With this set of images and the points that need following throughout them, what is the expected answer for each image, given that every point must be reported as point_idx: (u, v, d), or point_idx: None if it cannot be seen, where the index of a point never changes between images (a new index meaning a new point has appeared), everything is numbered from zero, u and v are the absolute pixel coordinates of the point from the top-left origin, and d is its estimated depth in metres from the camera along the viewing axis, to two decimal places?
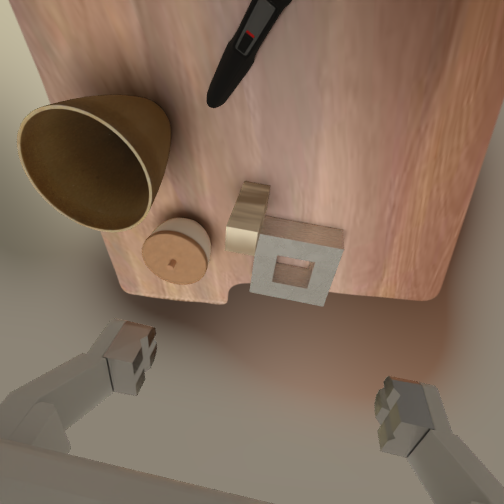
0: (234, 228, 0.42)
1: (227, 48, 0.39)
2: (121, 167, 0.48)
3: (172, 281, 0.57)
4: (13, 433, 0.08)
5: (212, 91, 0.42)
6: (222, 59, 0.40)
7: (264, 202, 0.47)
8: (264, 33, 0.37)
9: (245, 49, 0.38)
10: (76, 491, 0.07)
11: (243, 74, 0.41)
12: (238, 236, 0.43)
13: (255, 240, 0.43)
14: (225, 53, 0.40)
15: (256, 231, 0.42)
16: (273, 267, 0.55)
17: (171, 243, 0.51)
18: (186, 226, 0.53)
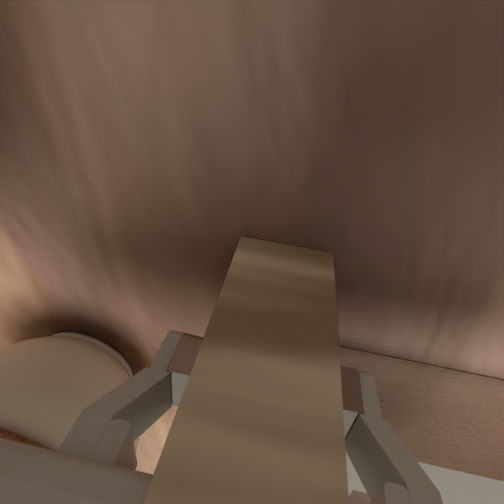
0: None
1: None
2: None
3: None
4: (93, 452, 0.08)
5: None
6: None
7: (333, 341, 0.10)
8: None
9: None
10: (76, 491, 0.07)
11: None
12: None
13: None
14: None
15: None
16: None
17: None
18: (39, 386, 0.15)
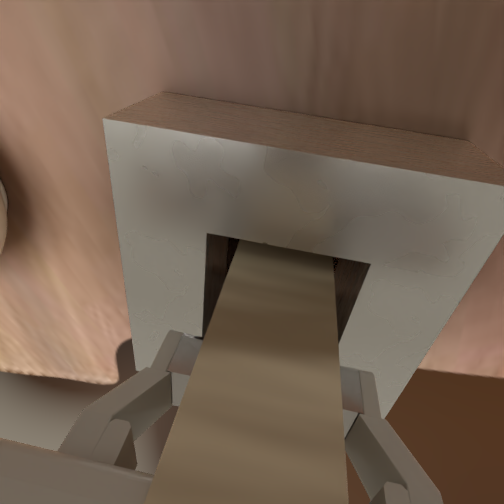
0: None
1: None
2: None
3: None
4: (93, 452, 0.08)
5: None
6: None
7: (332, 342, 0.10)
8: None
9: None
10: (76, 491, 0.07)
11: None
12: None
13: None
14: None
15: None
16: (199, 287, 0.14)
17: None
18: None
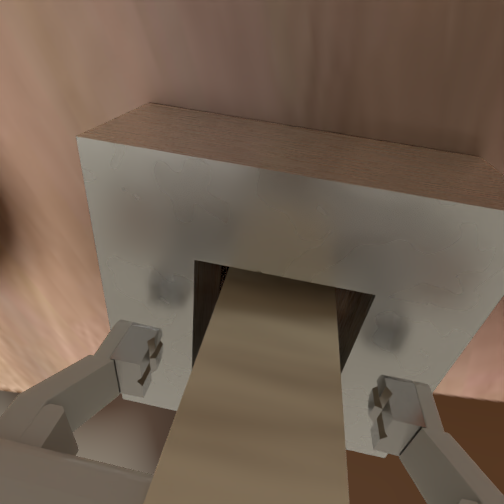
0: None
1: None
2: None
3: None
4: (22, 435, 0.08)
5: None
6: None
7: (331, 307, 0.12)
8: None
9: None
10: (76, 491, 0.07)
11: None
12: None
13: None
14: None
15: None
16: (187, 316, 0.13)
17: None
18: None
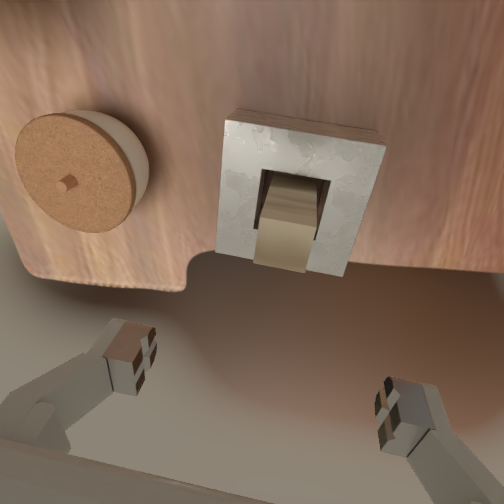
0: (275, 221, 0.24)
1: None
2: None
3: (76, 226, 0.32)
4: (13, 433, 0.08)
5: None
6: None
7: (314, 188, 0.29)
8: None
9: None
10: (76, 491, 0.07)
11: None
12: (280, 237, 0.24)
13: (310, 243, 0.24)
14: None
15: (314, 226, 0.24)
16: (255, 197, 0.31)
17: (62, 136, 0.27)
18: (97, 115, 0.29)
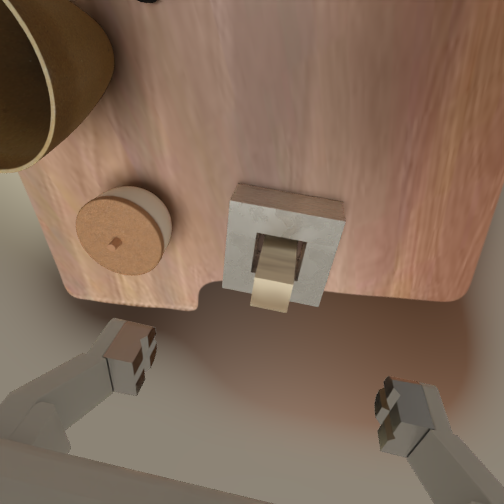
0: (265, 280, 0.34)
1: None
2: (44, 105, 0.35)
3: (118, 271, 0.43)
4: (13, 433, 0.08)
5: None
6: None
7: (295, 246, 0.40)
8: None
9: None
10: (76, 491, 0.07)
11: None
12: (268, 289, 0.35)
13: (289, 294, 0.35)
14: None
15: (291, 283, 0.34)
16: (252, 251, 0.41)
17: (112, 213, 0.38)
18: (136, 193, 0.40)
